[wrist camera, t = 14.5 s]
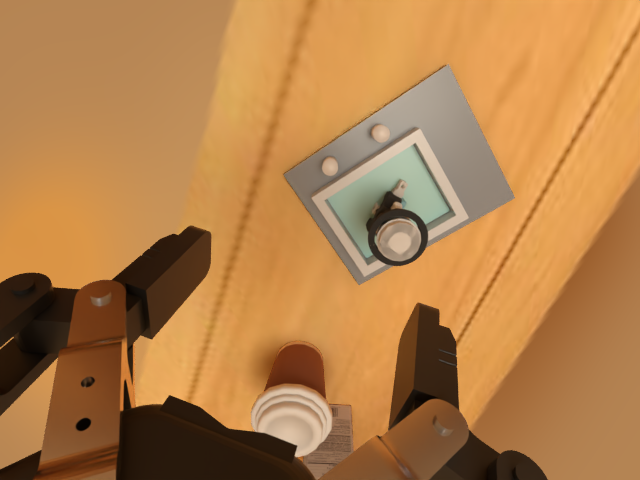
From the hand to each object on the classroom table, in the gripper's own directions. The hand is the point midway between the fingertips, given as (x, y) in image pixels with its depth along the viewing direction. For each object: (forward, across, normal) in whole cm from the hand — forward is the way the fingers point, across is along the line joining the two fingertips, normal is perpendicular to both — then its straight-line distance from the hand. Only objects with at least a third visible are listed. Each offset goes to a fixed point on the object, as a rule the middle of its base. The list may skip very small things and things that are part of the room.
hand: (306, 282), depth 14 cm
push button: (+27, -3, +10) cm, 29 cm away
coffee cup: (+21, +2, +33) cm, 40 cm away
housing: (+29, -3, +8) cm, 30 cm away
